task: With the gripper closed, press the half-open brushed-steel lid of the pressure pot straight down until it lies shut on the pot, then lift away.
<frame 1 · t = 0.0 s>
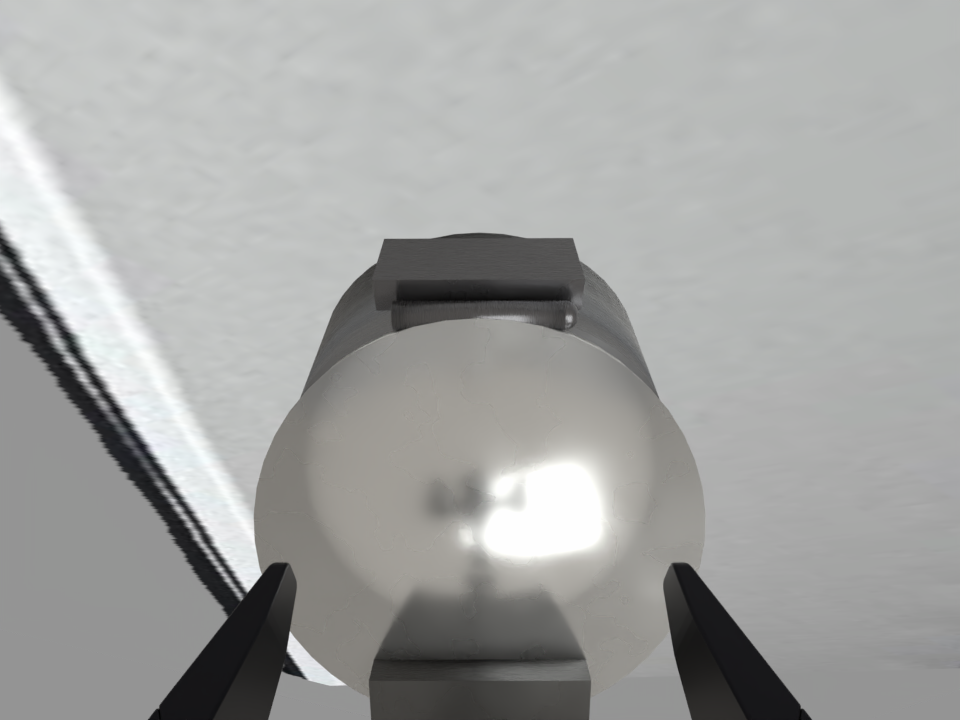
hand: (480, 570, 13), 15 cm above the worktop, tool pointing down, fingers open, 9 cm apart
lid: (478, 313, 19), point 6 cm above the worktop, hinge at 25.0°
pot: (479, 375, 28), on the worktop
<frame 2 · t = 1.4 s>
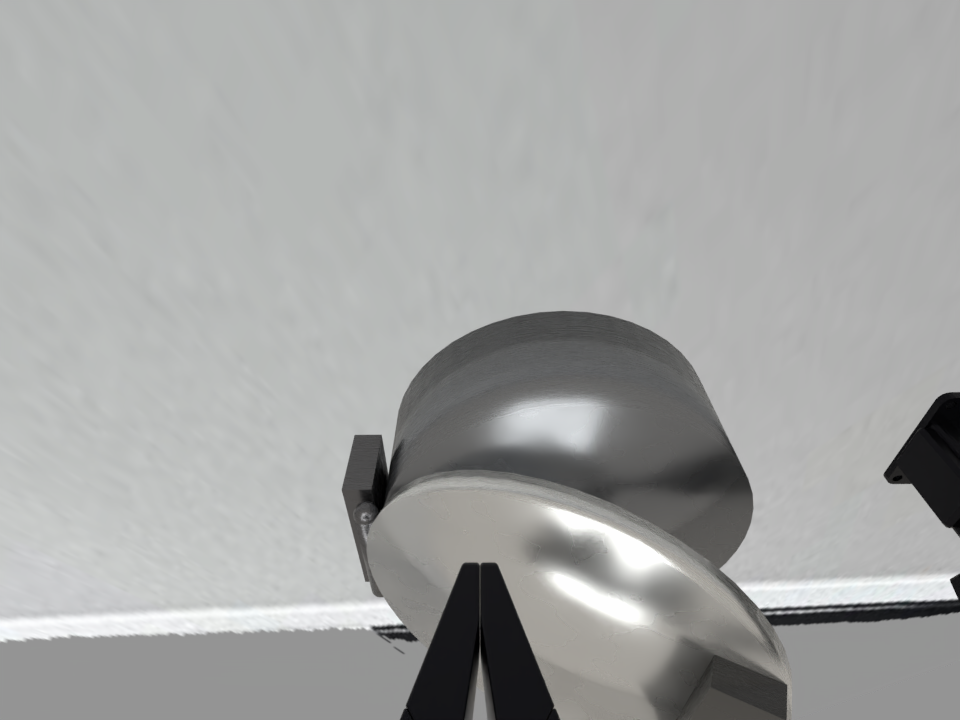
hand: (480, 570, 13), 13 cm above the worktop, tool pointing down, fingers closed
lid: (381, 543, 24), point 6 cm above the worktop, hinge at 25.0°
pot: (549, 438, 29), on the worktop
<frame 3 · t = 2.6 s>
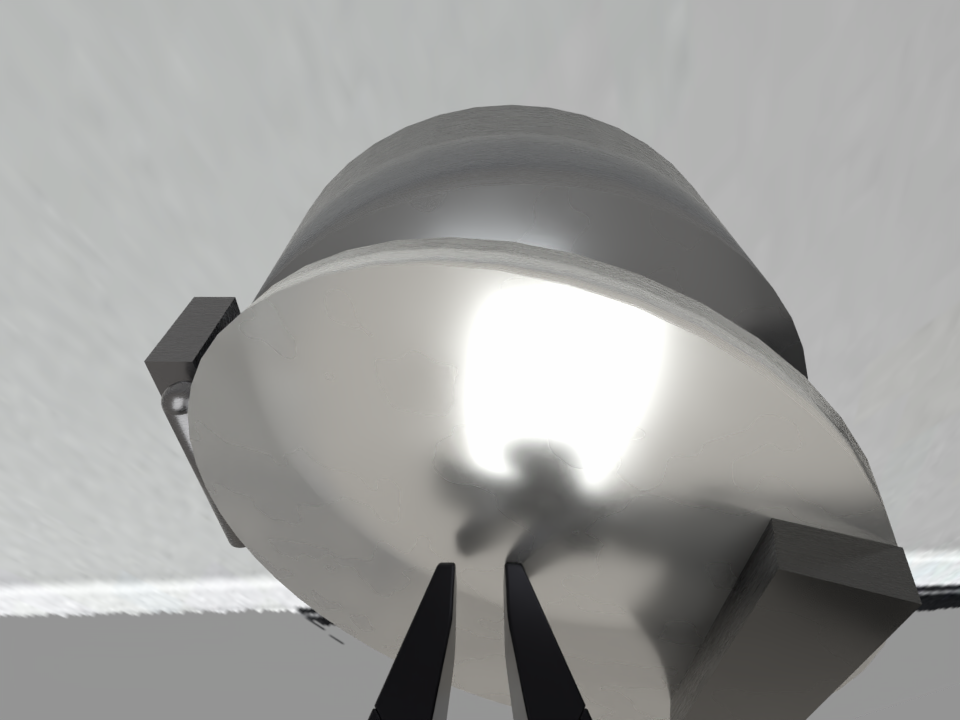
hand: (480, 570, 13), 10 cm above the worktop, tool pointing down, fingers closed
lid: (229, 461, 16), point 6 cm above the worktop, hinge at 16.3°, touching gripper
pot: (504, 334, 20), on the worktop
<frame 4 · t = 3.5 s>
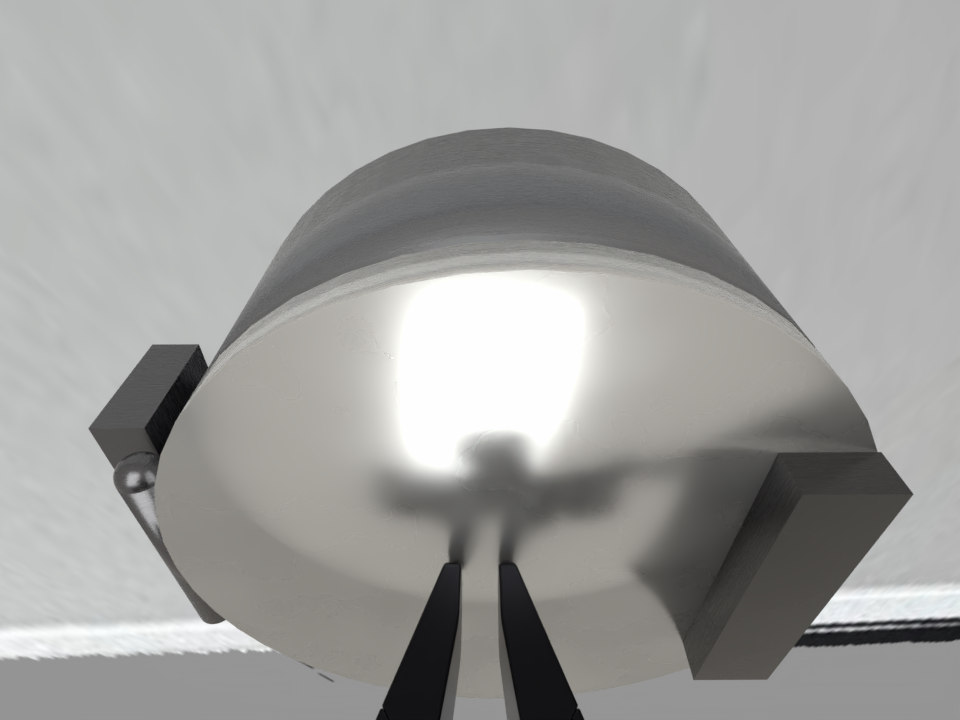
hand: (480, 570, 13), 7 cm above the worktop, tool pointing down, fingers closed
lid: (193, 531, 14), point 6 cm above the worktop, hinge at 0.1°
pot: (501, 372, 19), on the worktop
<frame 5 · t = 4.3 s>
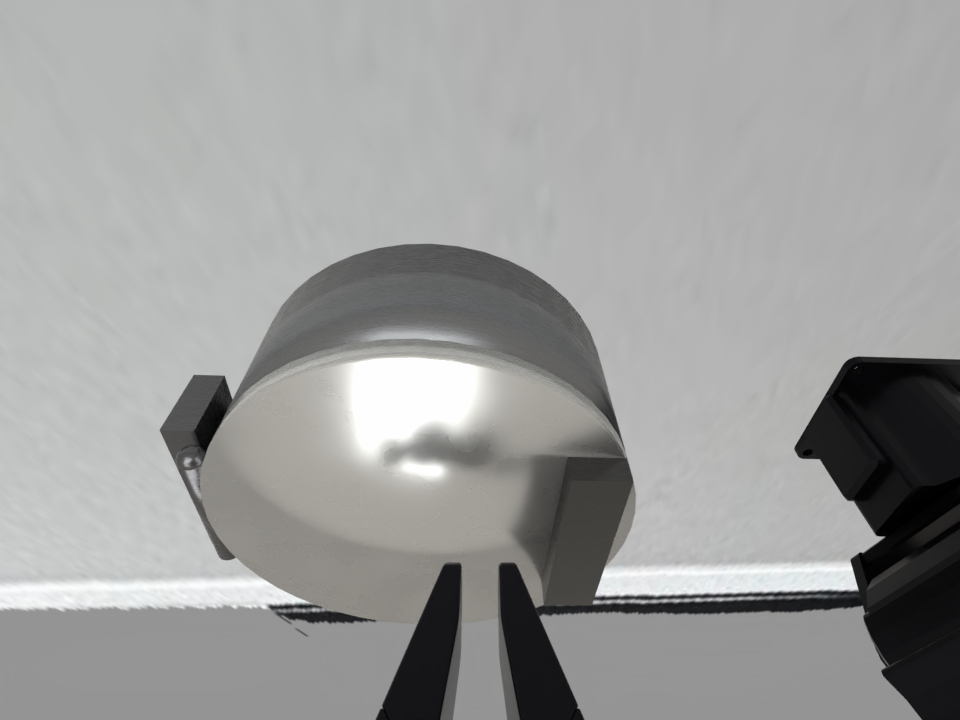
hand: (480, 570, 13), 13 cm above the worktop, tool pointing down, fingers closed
lid: (217, 497, 21), point 6 cm above the worktop, hinge at 0.1°
pot: (433, 395, 26), on the worktop
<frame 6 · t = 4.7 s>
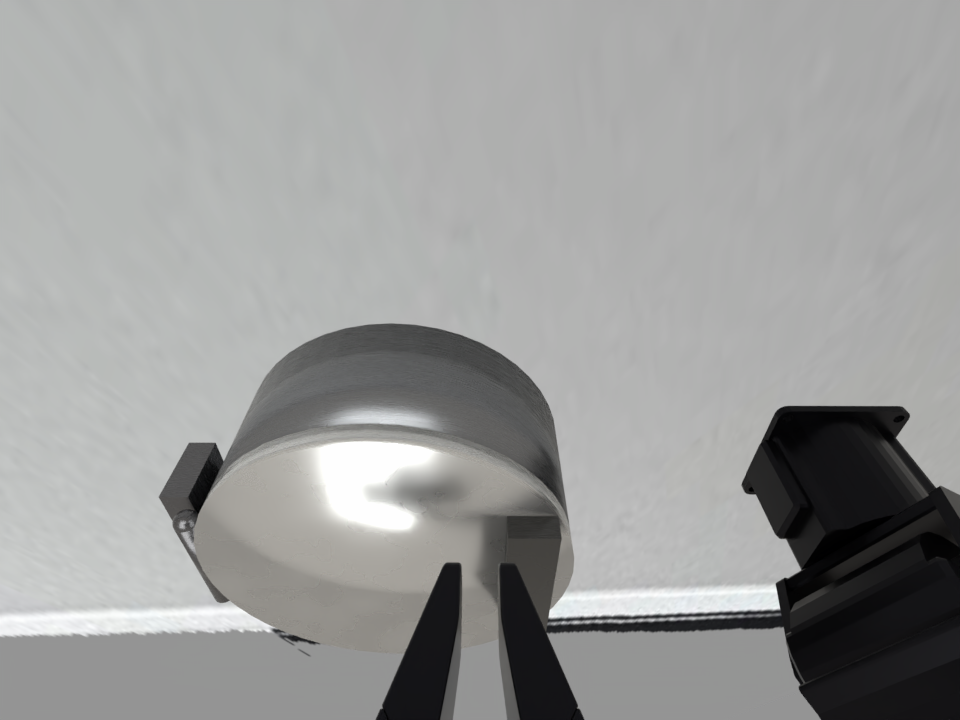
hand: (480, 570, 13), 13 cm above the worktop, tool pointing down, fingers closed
lid: (211, 549, 24), point 6 cm above the worktop, hinge at 0.1°
pot: (405, 446, 29), on the worktop
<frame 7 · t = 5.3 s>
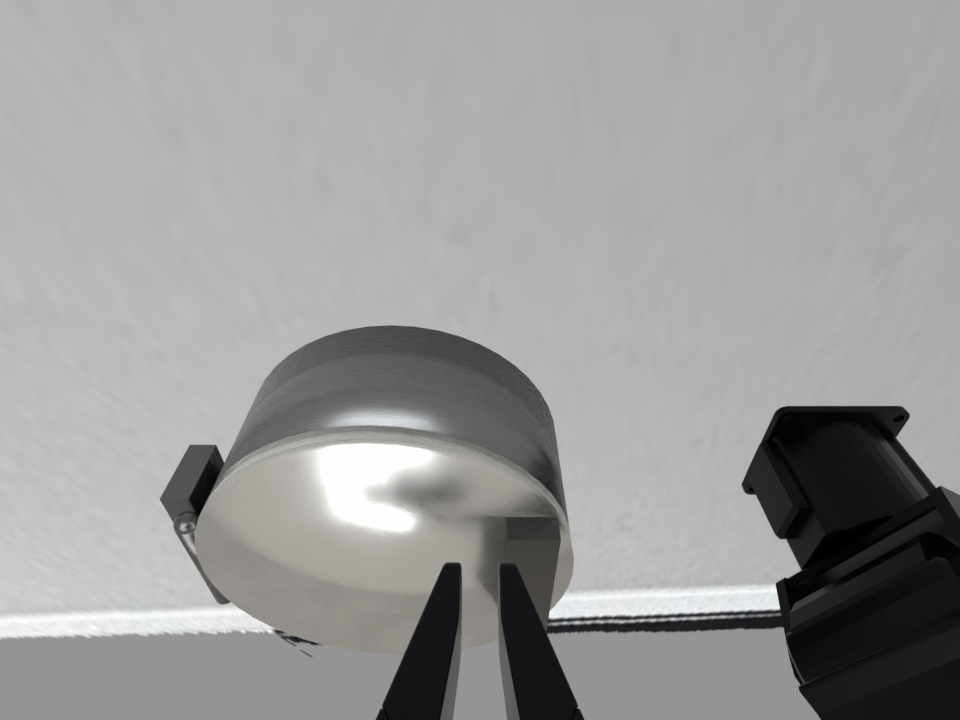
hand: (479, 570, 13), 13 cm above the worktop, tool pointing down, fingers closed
lid: (212, 551, 25), point 6 cm above the worktop, hinge at 0.1°
pot: (406, 447, 29), on the worktop
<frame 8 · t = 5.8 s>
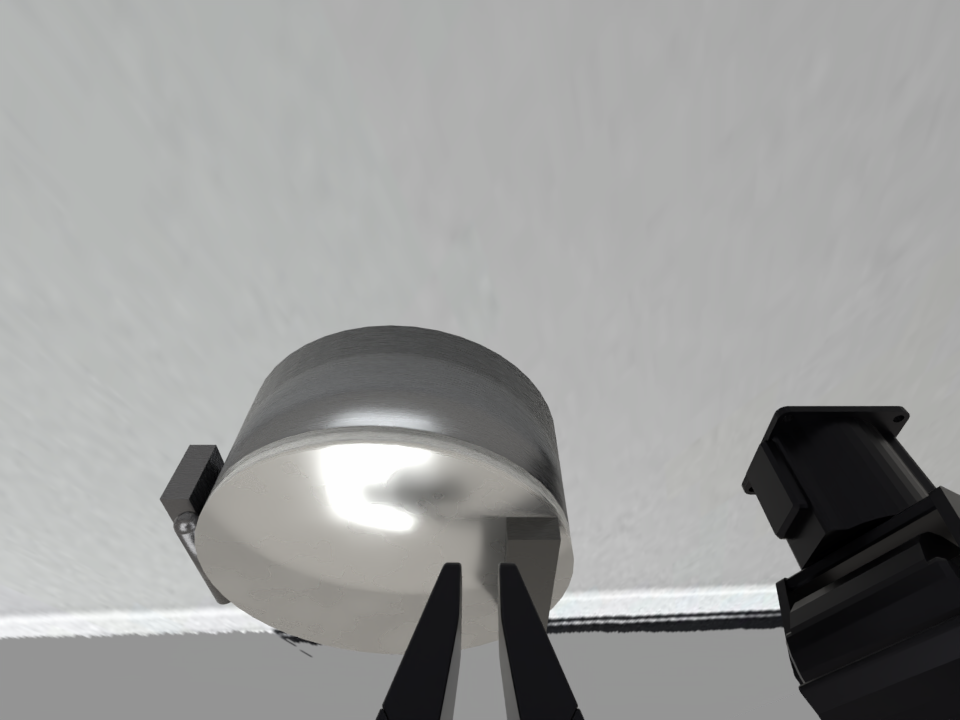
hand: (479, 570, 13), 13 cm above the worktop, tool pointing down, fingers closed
lid: (212, 551, 25), point 6 cm above the worktop, hinge at 0.1°
pot: (406, 447, 29), on the worktop
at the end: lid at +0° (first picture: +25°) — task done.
